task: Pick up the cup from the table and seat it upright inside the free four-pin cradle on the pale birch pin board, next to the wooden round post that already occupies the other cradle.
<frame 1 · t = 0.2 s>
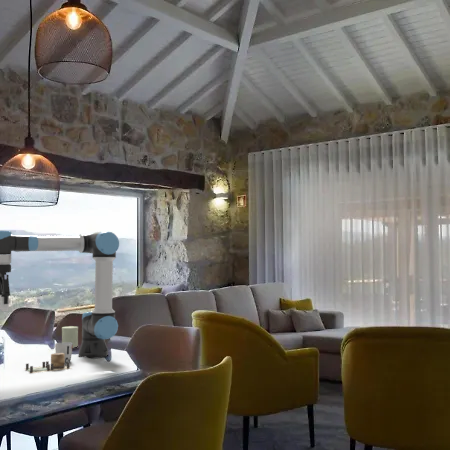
hand: (2, 310, 257), 28 cm above the table, fingers open, 13 cm apart
wooden round post: (57, 367, 257), point 1 cm above the table, touching pin board
cup: (63, 364, 270), on the table
pin board: (47, 371, 254), on the table
can: (69, 347, 323), on the table
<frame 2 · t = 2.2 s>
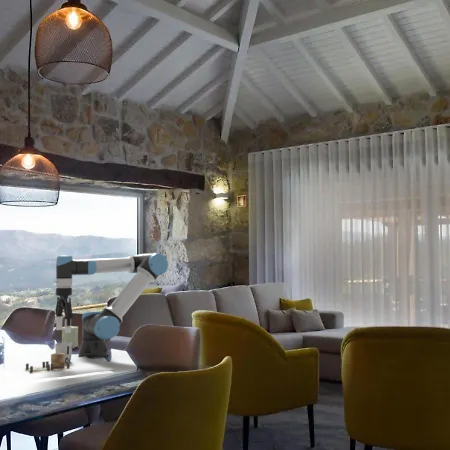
hand: (63, 331, 271), 16 cm above the table, fingers open, 13 cm apart
nothing on the table moved.
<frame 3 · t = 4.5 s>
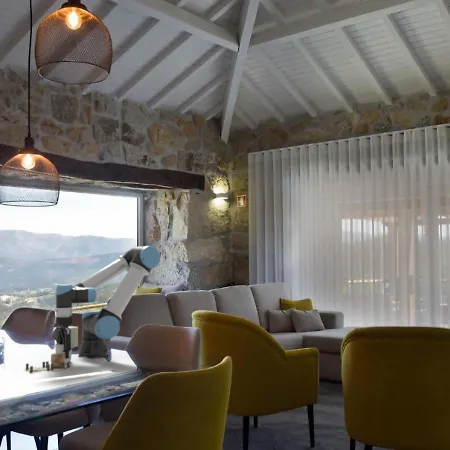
hand: (63, 363, 270), 0 cm above the table, fingers closed on cup, 8 cm apart
cup: (63, 364, 270), on the table, touching gripper
everything else where it was.
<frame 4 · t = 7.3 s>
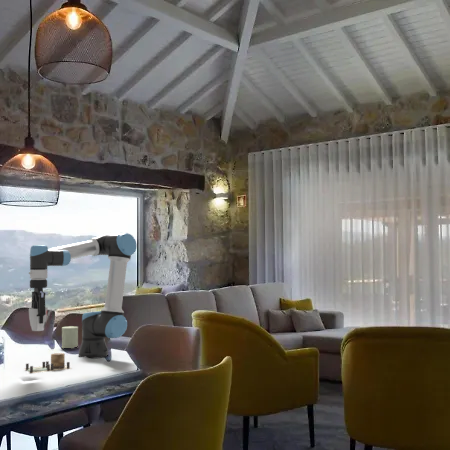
hand: (37, 329, 253), 19 cm above the table, fingers closed on cup, 8 cm apart
cup: (37, 330, 253), point 19 cm above the table, touching gripper
everything else where it was.
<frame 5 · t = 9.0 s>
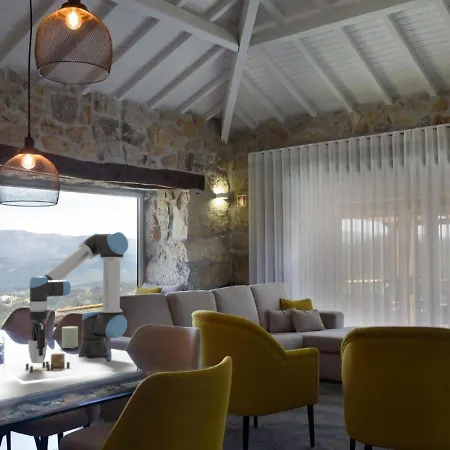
hand: (37, 361, 252), 5 cm above the table, fingers closed on cup, 8 cm apart
cup: (37, 362, 252), point 4 cm above the table, touching gripper
everything else where it was.
when the fingers open (3 cm above the table, at t = 10.2 s): cup drops 1 cm, resting on pin board.
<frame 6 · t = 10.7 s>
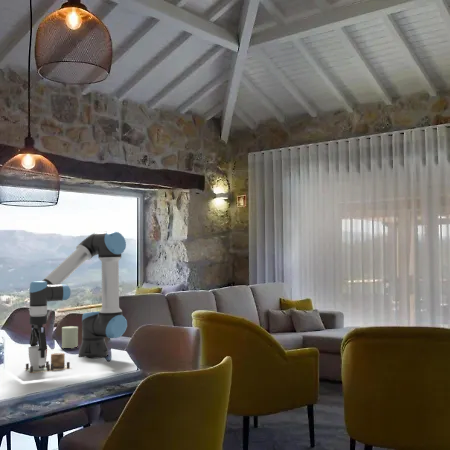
hand: (37, 362, 252), 4 cm above the table, fingers open, 13 cm apart
cup: (37, 369, 252), point 1 cm above the table, touching pin board
everything else where it was.
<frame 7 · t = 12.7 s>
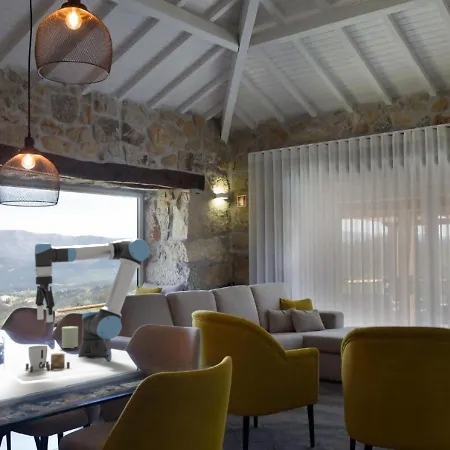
hand: (45, 320, 264), 22 cm above the table, fingers open, 13 cm apart
nothing on the table moved.
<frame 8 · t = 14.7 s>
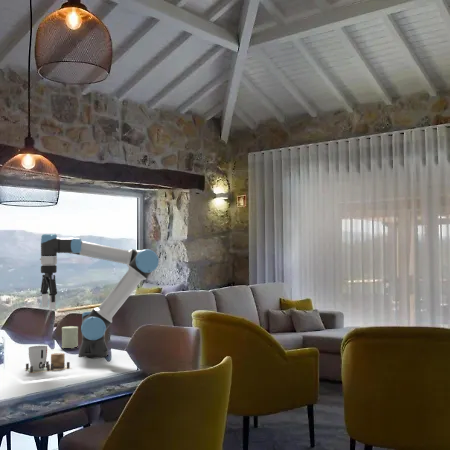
hand: (48, 308, 277), 27 cm above the table, fingers open, 13 cm apart
nothing on the table moved.
at the end: cup 0.1 cm from the target spot on the pin board, point 1.1 cm above the pin board's base; cup tilted 0°; the gripper is holding nothing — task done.
